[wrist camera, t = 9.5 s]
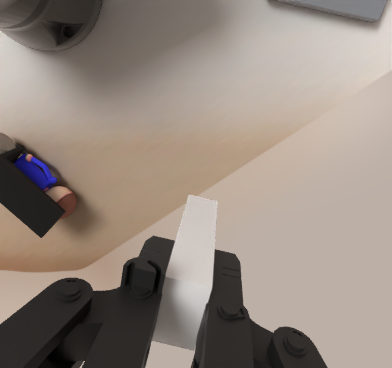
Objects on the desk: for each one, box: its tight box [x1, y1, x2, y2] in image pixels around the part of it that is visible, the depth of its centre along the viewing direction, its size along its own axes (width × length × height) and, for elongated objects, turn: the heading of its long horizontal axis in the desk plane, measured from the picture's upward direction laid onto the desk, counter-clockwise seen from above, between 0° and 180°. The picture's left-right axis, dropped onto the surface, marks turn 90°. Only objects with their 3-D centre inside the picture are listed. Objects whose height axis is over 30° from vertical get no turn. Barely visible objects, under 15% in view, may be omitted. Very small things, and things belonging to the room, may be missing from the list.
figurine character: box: [0, 133, 76, 238], centre depth 46 cm, size 7×8×15 cm
